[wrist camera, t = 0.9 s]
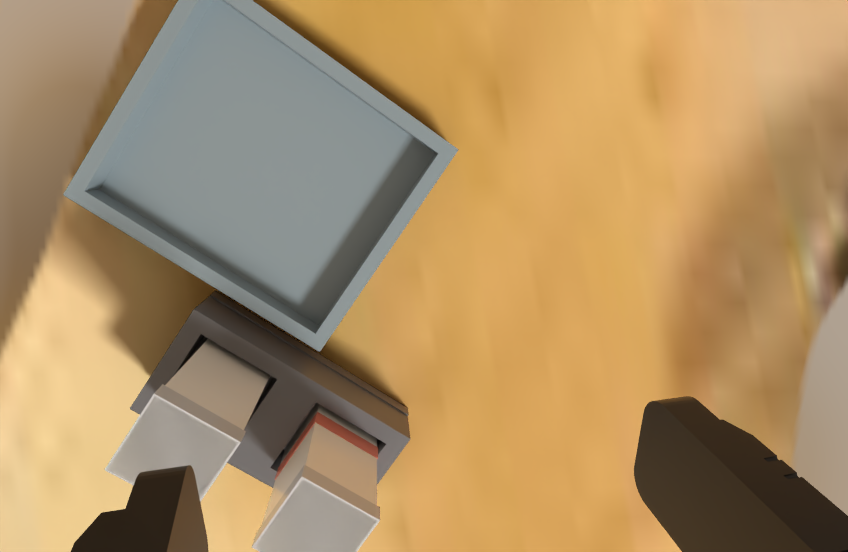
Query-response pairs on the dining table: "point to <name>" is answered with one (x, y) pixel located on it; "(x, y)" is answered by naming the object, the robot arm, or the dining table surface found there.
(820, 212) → the dining table surface
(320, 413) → the block
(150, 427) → the block
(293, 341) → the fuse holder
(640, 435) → the robot arm
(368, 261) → the tray
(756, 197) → the dining table surface
